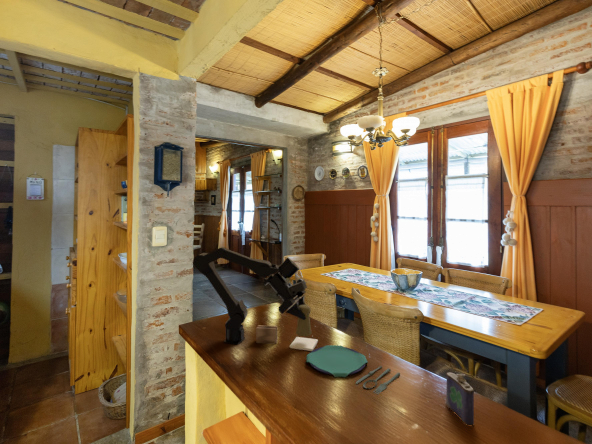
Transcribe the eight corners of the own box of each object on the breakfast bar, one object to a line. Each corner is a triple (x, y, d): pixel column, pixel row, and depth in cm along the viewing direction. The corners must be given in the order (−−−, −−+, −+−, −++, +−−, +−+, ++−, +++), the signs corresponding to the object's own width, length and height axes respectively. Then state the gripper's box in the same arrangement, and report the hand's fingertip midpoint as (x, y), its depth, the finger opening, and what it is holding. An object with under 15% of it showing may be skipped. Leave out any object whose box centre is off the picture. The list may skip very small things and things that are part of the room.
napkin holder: (256, 342, 124) (256, 327, 123) (258, 339, 127) (258, 325, 126) (276, 343, 123) (276, 329, 122) (277, 340, 126) (277, 326, 125)
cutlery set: (332, 345, 122) (332, 339, 121) (404, 376, 100) (404, 369, 100) (296, 363, 108) (296, 357, 108) (371, 403, 86) (371, 395, 86)
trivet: (289, 347, 119) (289, 345, 119) (296, 338, 128) (296, 336, 128) (312, 351, 116) (312, 349, 116) (317, 341, 125) (317, 339, 125)
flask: (443, 404, 85) (444, 365, 84) (453, 403, 85) (454, 364, 85) (467, 427, 75) (468, 384, 75) (477, 426, 76) (479, 383, 75)
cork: (313, 335, 120) (314, 307, 119) (298, 337, 118) (299, 308, 118) (308, 329, 126) (308, 302, 125) (293, 331, 124) (294, 303, 123)
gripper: (287, 278, 113) (315, 311, 110) (301, 269, 131) (326, 297, 128) (266, 297, 116) (294, 330, 113) (283, 286, 134) (307, 314, 131)
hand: (307, 316), depth 121 cm, fingers closed on cork, 5 cm apart
